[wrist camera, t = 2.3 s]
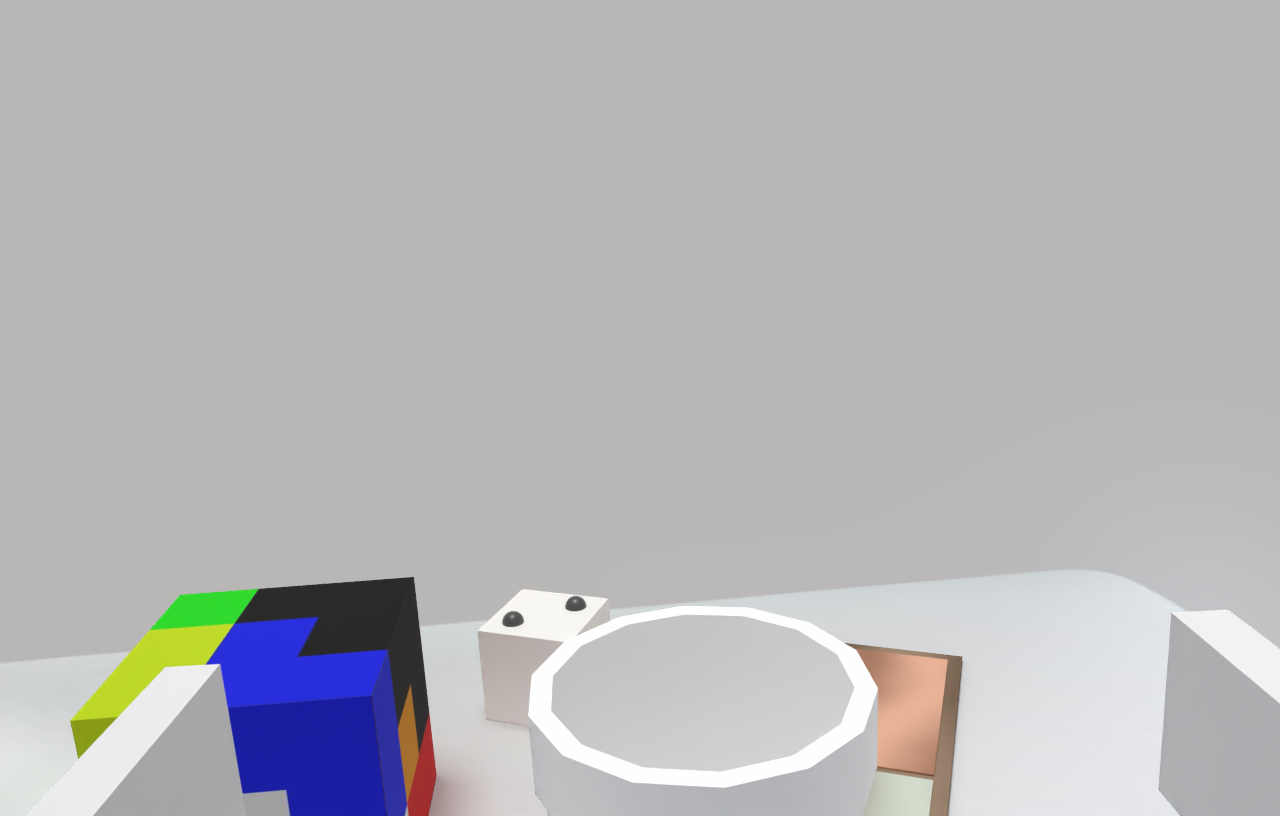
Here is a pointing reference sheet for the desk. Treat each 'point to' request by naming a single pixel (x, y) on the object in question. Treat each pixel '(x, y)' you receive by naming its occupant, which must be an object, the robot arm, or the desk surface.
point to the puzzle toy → (301, 693)
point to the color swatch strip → (912, 730)
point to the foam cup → (703, 718)
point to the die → (529, 645)
